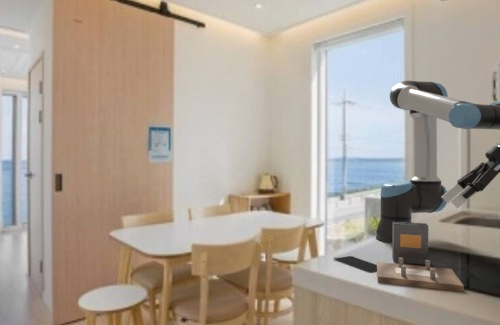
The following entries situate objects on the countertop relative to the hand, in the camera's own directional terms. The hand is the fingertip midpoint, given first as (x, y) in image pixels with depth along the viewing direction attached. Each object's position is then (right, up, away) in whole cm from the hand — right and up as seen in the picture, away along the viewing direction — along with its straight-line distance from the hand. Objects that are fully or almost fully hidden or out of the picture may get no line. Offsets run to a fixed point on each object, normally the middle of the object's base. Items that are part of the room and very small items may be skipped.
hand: (448, 202), depth 110 cm
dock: (-16, -19, -12) cm, 28 cm away
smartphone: (-28, -20, 0) cm, 34 cm away
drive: (-10, -19, +4) cm, 22 cm away
